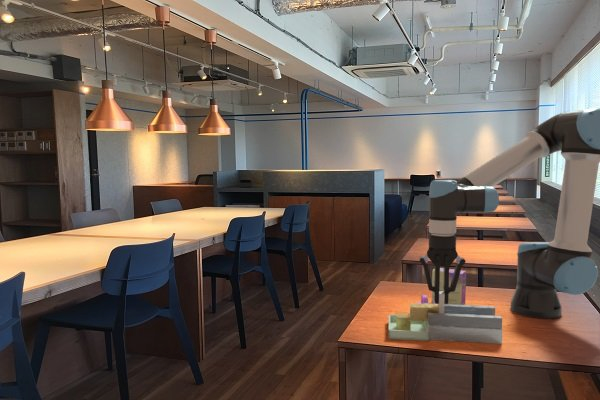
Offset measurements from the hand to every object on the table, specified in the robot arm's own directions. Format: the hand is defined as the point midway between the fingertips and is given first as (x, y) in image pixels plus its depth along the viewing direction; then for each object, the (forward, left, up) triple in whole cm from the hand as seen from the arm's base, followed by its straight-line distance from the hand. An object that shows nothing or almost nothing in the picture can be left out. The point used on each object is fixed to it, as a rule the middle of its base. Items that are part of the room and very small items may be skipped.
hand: (441, 314), depth 141 cm
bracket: (+2, -20, -6) cm, 21 cm away
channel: (-6, 0, -6) cm, 8 cm away
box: (-6, -30, -6) cm, 31 cm away
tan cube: (+7, 0, -2) cm, 7 cm away
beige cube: (+3, 0, -2) cm, 3 cm away
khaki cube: (+9, 0, -3) cm, 9 cm away
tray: (+9, 0, -6) cm, 11 cm away
